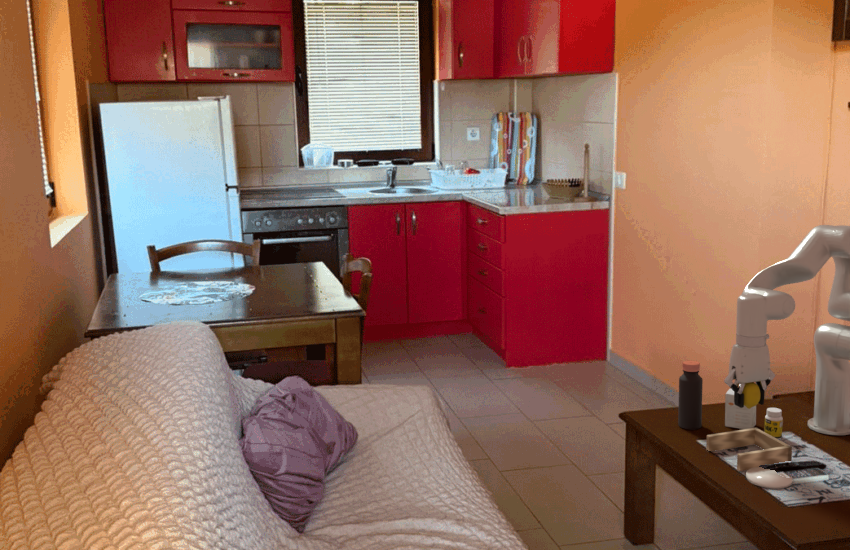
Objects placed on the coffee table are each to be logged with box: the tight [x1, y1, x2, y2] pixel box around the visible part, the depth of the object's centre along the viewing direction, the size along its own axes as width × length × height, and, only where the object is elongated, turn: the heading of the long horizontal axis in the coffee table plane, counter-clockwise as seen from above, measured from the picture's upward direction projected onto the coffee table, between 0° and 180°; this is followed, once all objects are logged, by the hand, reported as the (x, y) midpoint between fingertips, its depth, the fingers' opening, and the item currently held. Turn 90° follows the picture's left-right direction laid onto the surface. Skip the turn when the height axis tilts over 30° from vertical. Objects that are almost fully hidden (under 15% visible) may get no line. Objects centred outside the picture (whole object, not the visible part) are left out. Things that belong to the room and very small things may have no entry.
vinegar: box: [677, 360, 704, 430], centre depth 245 cm, size 7×7×20 cm
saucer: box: [745, 467, 794, 490], centre depth 210 cm, size 11×11×1 cm
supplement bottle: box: [763, 407, 784, 440], centre depth 236 cm, size 5×5×8 cm
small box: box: [724, 388, 757, 430], centre depth 245 cm, size 8×6×10 cm
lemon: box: [742, 382, 760, 409], centre depth 220 cm, size 6×6×8 cm
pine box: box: [705, 427, 793, 472], centre depth 224 cm, size 16×15×4 cm
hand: (749, 404), depth 221 cm, fingers closed on lemon, 5 cm apart
